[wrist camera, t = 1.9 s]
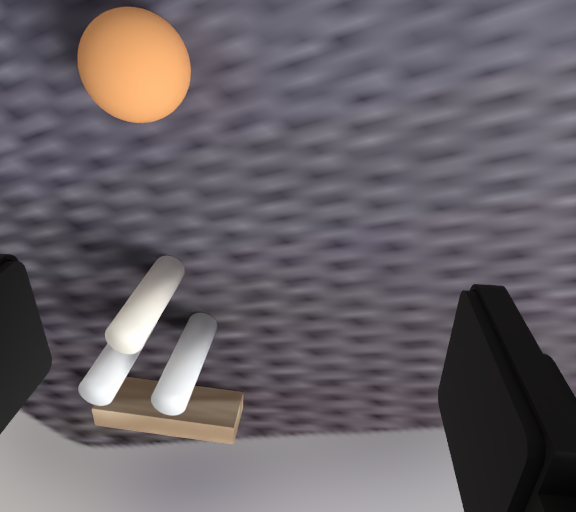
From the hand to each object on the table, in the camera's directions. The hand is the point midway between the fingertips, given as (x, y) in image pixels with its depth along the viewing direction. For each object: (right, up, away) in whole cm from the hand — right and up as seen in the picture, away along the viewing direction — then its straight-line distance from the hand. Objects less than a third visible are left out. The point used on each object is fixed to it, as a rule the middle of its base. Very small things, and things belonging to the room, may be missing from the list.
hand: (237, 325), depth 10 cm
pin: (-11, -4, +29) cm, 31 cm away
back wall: (-9, -11, +33) cm, 35 cm away
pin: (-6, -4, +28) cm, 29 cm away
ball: (-7, +12, +16) cm, 21 cm away
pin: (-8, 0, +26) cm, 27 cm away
